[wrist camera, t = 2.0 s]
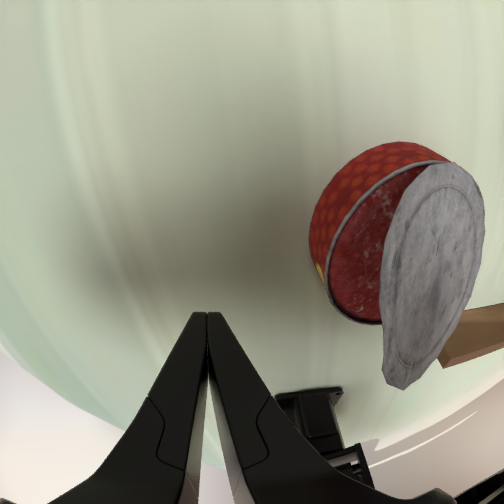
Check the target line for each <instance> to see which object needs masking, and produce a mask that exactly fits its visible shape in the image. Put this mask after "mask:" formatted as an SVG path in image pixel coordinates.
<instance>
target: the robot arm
mask: <svg viewBox="0 0 504 504" xmlns="http://www.w3.org/2000/svg"><path fill="white" fill-rule="evenodd" d="M207 344H208V351H207ZM208 375H209V384H210V390H211V396H212V401H213V406H214V412H215V417H216V422H217V427H218V432H219V437H220V442H221V446H222V451H223V456H224V460H225V465H226V469H227V473H228V477H229V482H230V486H231V490H232V494H233V497H234V502H235V504H504V469H502V470H501V471H499V472H497V473H495V474H494V475H492V476H490V477H488V478H486V479H485V480H483V481H481V482H479V483H477V484H476V485H474V486H472V487H471V488H469V489H467V490H465V491H463V492H462V493H460V494H459V495H457V496H455V497H452V496H450V495H448V494H447V493H446V492H444V491H442V490H441V489H439V488H435V489H432V490H430V491H428V492H426V493H423V494H421V495H419V496H417V497H414V498H412V499H405V500H404V499H397V498H394V497H391V496H389V495H387V494H384V493H382V492H380V491H377V490H375V487H374V484H373V481H372V477H371V474H370V471H369V468H368V465H367V462H366V459H365V456H364V453H363V450H362V447H361V444H360V443H357V444H354V446H351V447H348V448H345V446H344V442H343V439H342V435H341V432H340V428H339V425H338V422H337V418H336V415H335V411H334V408H333V407H334V406H335V404H336V403H337V401H338V400H339V398H340V397H341V395H342V394H343V390H342V388H335V389H328V390H320V391H313V392H304V393H295V394H285V395H278V396H276V397H275V398H273V396H271V393H270V392H269V390H268V389H267V387H266V385H265V384H264V382H263V381H262V379H261V378H260V376H259V374H258V373H257V371H256V370H255V368H254V366H253V365H252V363H251V362H250V360H249V358H248V357H247V355H246V354H245V352H244V350H243V349H242V347H241V345H240V344H239V342H238V340H237V339H236V337H235V335H234V334H233V332H232V330H231V329H230V327H229V325H228V324H227V322H226V320H225V319H224V317H223V315H222V314H221V313H220V312H208V313H206V312H193V313H192V315H191V317H190V318H189V320H188V322H187V324H186V326H185V327H184V329H183V331H182V333H181V335H180V336H179V338H178V340H177V342H176V344H175V345H174V347H173V349H172V351H171V353H170V354H169V356H168V358H167V360H166V362H165V364H164V365H163V367H162V369H161V371H160V373H159V375H158V376H157V378H156V380H155V382H154V384H153V386H152V388H151V389H150V391H149V393H148V397H146V398H145V400H144V402H143V404H142V406H141V408H140V409H139V411H138V413H137V415H136V416H135V418H134V420H133V421H132V423H131V424H130V426H129V427H128V429H127V430H126V432H125V433H124V435H123V436H122V437H121V439H120V440H119V441H118V443H117V444H116V445H115V447H114V448H113V450H112V451H111V452H110V454H109V455H108V456H107V458H106V459H105V460H104V462H103V463H102V465H101V466H100V467H99V468H98V469H97V470H96V472H95V473H94V474H93V475H91V476H90V477H89V478H88V479H87V480H85V481H83V482H82V483H80V484H79V485H77V486H76V487H74V488H72V489H71V490H69V491H68V492H66V493H64V494H63V495H61V496H59V497H58V498H56V499H54V500H53V501H51V502H49V503H48V504H198V497H199V482H200V481H199V480H200V468H201V455H202V443H203V431H204V419H205V408H206V398H207V387H208ZM356 460H357V461H358V463H357V464H354V465H351V463H350V462H353V461H356ZM0 504H16V503H13V502H11V501H9V500H6V499H4V498H1V499H0Z"/></svg>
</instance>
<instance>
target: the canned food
mask: <svg viewBox="0 0 504 504" xmlns="http://www.w3.org/2000/svg"><path fill="white" fill-rule="evenodd" d="M484 218H485V210H484V202H483V197H482V195H481V192H480V189H479V186H478V185H477V183H476V182H475V180H474V179H473V177H472V176H471V175H470V174H469V173H468V172H467V171H465V170H464V169H463V168H462V167H460V166H458V165H457V164H456V163H455V162H451V161H449V160H447V159H446V158H444V157H442V156H441V155H439V154H437V153H436V152H434V151H432V150H430V149H428V148H427V147H424V146H421V145H418V144H416V143H410V142H393V143H386V144H382V145H379V146H377V147H374V148H371V149H369V150H366V151H365V152H363V153H362V154H360V155H358V156H357V157H355V158H354V159H352V160H351V161H349V162H348V163H347V164H346V165H345V166H344V167H343V168H342V169H341V170H340V171H339V172H338V173H337V174H336V175H335V176H334V177H333V179H332V180H331V181H330V183H329V184H328V185H327V187H326V188H325V189H324V191H323V193H322V195H321V197H320V199H319V201H318V203H317V205H316V207H315V210H314V213H313V217H312V220H311V223H310V233H309V245H310V252H311V256H312V259H313V261H314V264H315V266H316V268H317V271H318V273H319V275H320V277H321V280H322V282H323V284H324V286H325V289H326V291H327V294H328V297H329V299H330V302H331V303H332V305H333V306H334V307H335V309H336V310H337V311H338V312H339V313H340V314H342V315H343V316H345V317H346V318H347V319H349V320H352V321H354V322H357V323H360V324H366V325H382V326H383V340H384V358H383V364H382V372H383V374H384V377H385V380H386V382H387V384H389V385H391V386H394V387H396V388H398V389H401V390H405V389H406V388H407V387H408V386H409V385H410V384H412V383H413V382H415V381H416V380H418V379H419V378H420V377H421V376H422V375H423V373H424V372H425V371H426V369H427V368H428V367H429V366H430V364H431V363H432V362H433V361H434V360H435V359H436V358H437V357H438V356H439V354H440V352H441V350H442V348H443V347H444V345H445V343H446V341H447V340H448V338H449V337H450V335H451V334H452V333H453V331H454V330H455V328H456V326H457V324H458V322H459V319H460V317H461V315H462V312H463V310H464V309H465V307H466V305H467V303H468V301H469V299H470V297H471V294H472V290H473V287H474V283H475V279H476V276H477V274H478V271H479V268H480V265H481V257H482V247H483V241H484V235H485V225H484Z"/></svg>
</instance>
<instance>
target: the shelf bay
mask: <svg viewBox="0 0 504 504" xmlns="http://www.w3.org/2000/svg"><path fill="white" fill-rule="evenodd" d="M501 348H504V303H501V304H497V305H492V306H487V307H482V308H476V309H471V310H465V311H463V312H462V315H461V317H460V319H459V322H458V324H457V326H456V328H455V330H454V331H453V333H452V334H451V335H450V337H449V338H448V340H447V341H446V343H445V345H444V347H443V348H442V350H441V352H440V354H439V356H438V357H437V359H438V360H439V362H440V364H441V366H442V368H443V369H444V368H447V367H450V366H454V365H457V364H460V363H463V362H466V361H469V360H472V359H474V358H477V357H480V356H483V355H486V354H488V353H491V352H493V351H496V350H499V349H501Z"/></svg>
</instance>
